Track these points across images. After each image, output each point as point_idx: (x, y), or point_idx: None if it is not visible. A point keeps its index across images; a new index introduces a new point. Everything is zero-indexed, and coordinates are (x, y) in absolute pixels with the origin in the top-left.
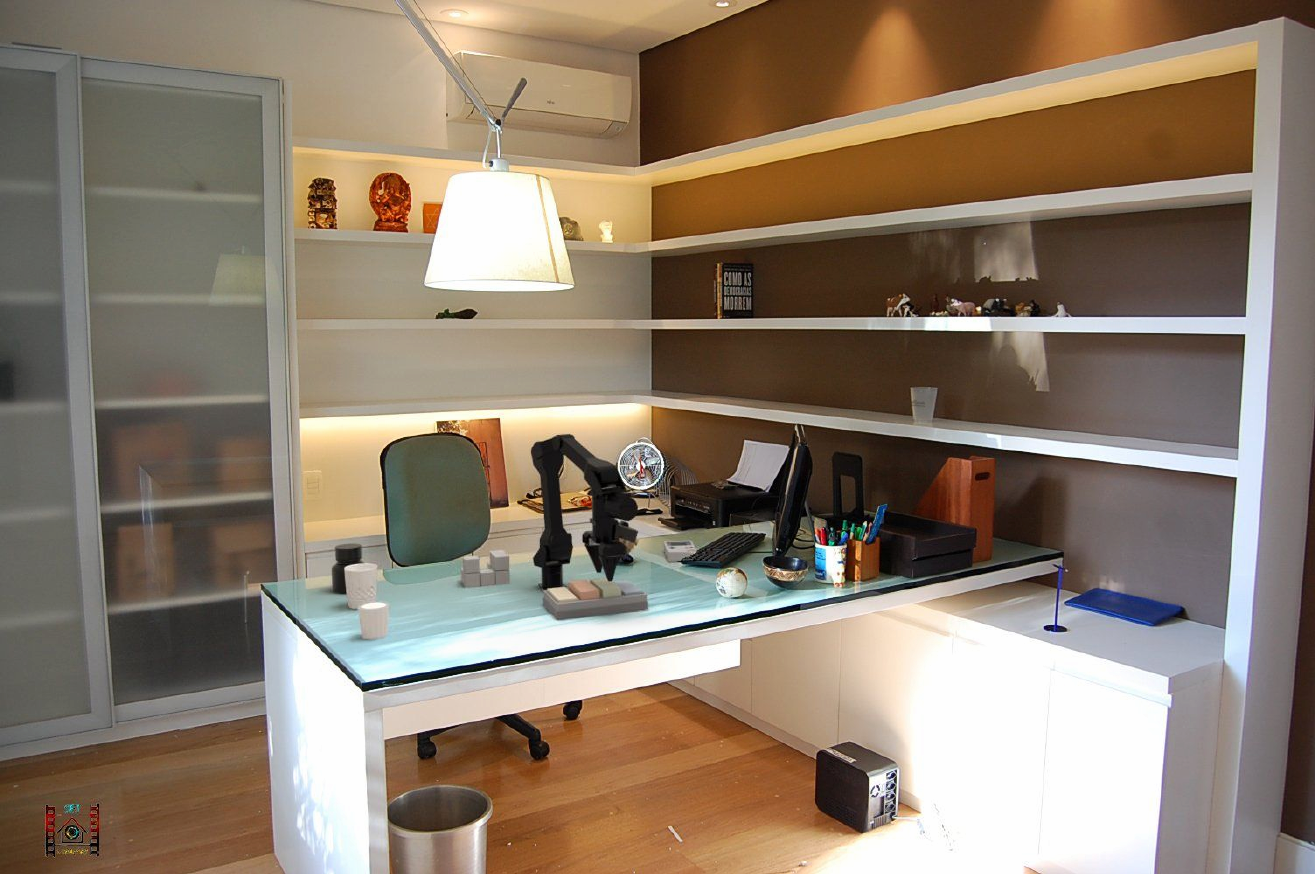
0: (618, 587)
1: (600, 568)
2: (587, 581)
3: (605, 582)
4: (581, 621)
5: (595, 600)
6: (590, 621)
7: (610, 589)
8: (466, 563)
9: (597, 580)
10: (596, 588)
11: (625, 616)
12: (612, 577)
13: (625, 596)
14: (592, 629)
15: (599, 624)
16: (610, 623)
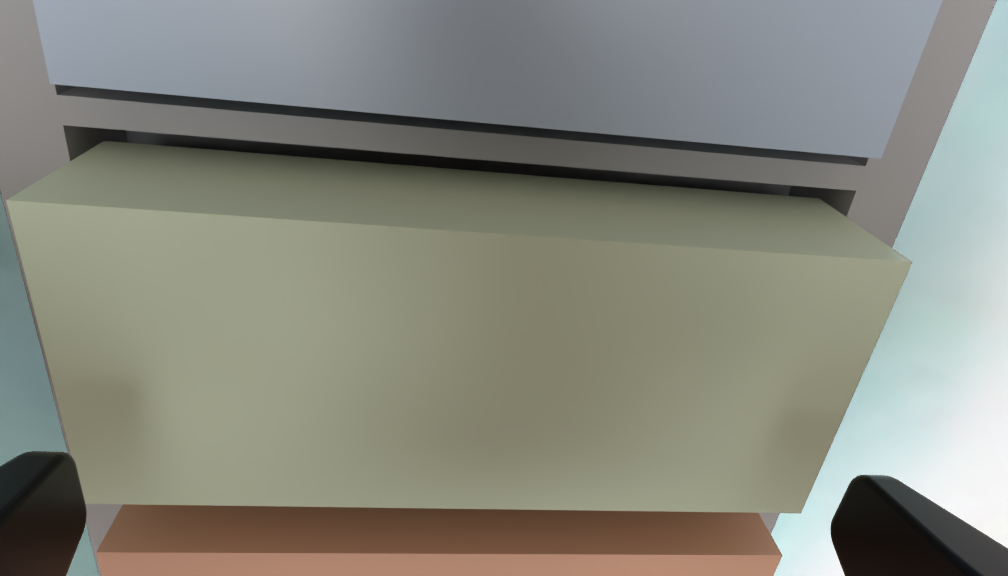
0: (852, 289)
1: (15, 541)
2: (232, 564)
3: (416, 364)
4: (772, 530)
5: (773, 519)
6: (819, 482)
7: (834, 419)
8: None
9: (218, 433)
10: (678, 560)
11: (924, 182)
12: (961, 537)
13: (903, 163)
14: (987, 518)
15: (933, 451)
16: (981, 375)
